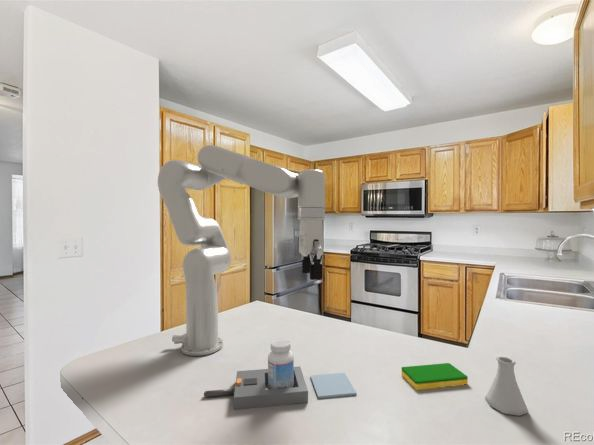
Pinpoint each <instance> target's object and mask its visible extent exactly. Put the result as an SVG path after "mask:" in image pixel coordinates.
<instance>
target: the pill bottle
mask: <svg viewBox="0 0 594 445" xmlns="http://www.w3.org/2000/svg"><path fill="white" fill-rule="evenodd" d="M291 347H292V346H291V341H290V340H288V339H286V338H285V339H284V338H279V339H278V338H277V339H275V340H272V341H271V342H270V350H271V351H270V352H269V354H268V355H267V356H268V357H267V369H268V383H267V390H270V389H282V388H294V387H295V385H294V384H295V381H294V367H295V366H294V364H295V362H294V354H293V352H292V351H291Z"/></svg>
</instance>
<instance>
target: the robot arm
mask: <svg viewBox="0 0 594 445" xmlns="http://www.w3.org/2000/svg"><path fill="white" fill-rule="evenodd" d="M197 162H198V164H195V163H192V162H189V161H185V160H180V159H173V160H168V161H167V162H165V163H164V164H163V165H162V167H161V168H160V170H159V172H158V176H157V186H158V191H159V194H160V196H161V197H160V198H162V200H163V203H164V205H165V206H166V209H167V212H168V216H169V218H170V220H171V224H172V226H173V229H174V231H175V235H176V237H177V239H178V241H179V242H180V244H182V245H183V246H186V247H187V246H188V247H190V246H191V247H193V246H200V247H196V248H193V249H191V250H189V251H188V252H187V253H186V254H185V256H184V257H183V259H182V260H183V261H182V269H183V270H182V272H183V274H184V280H185V302H186V303H185V305H186V308H185V310H186V312H185V313H186V314H185V316H186V318H185V319H186V321H185V322H186V326H185V327H186V328H185V329H186V330H185V331H186V333H183V334H174V335H172V336H171V337H172V338H171V342H172V343H173V342H174V345H176V344H177V345H179V344H181V345H180V352H181V353H182V354H183V355H186V356H191V357H199V356H200V357H202V356H207V355H211V354H213V353H216V352H218V351H219V350H221V349H222V348H223V345H224V340H223V339H222V338H220V337H219V317H218V316H219V307H218V306H219V303H218V302H219V294H218V285H217V282H216V279H215V275H218V274H221V273H224V272H225V271H226V270H228V269H229V268H230V266H231V263H232V256H231V252H230V249H229V246H228V244H227V241H226V238H225V236H224V234H223V231H222V228H221V227H220V224H219V223H218V222H217V221H216V220H215V219H213V218H212V217H209V216H201V215H200V213H199V212H198V211H199V210H198V209H197V207H196V206H197V205H196V203H195V201H194V200H193V198H192V196H191V195H190V194H189V193H188V191H187V189H189V190H194V191H203V190H207V189H209V188H211V187H213V186H214V185H216V184H219V183H221V182H222V181H225V180H230V181H232V182H234V183H238V184H240V185H246V186H248V187H250V188H254V189H256V190H258V191H261V192H264V193H267V194H268V195H273V196H277V197H280V198H285V199H293V198H297V220H298V221H300V222H299V223H300V224H299V235H298V237H299V238H298V239H299V241H298V252H299V254H300V255H301V258H302V260H301V268H302V269H301V270H302V271H301V272H302V273H303V274H309V280H313V281H314V280H315V281H316V280H322V279H323V253H324V230H323V228H324V227H323V221H325V220H326V218H325V217H326V201H325V200H326V197H325V196H326V192H325V191H326V190H325V189H326V188H325V187H326V186H325V185H326V183H325V182H326V175H325V173H324V172H323V170H320V169H311V168H310V169H303V170H300V171H299V173H295V172H291V171H289V170H288V169H285V168H282V167H281V166H276V165H274V164H270V163H268V162H265V161H262V160H259V159H256V158H252V156H249V155H245V154H242V153H240V152H236V151H234V150H231V149H228V148H224V147H221V146H218V145H215V144H214V145H213V144H209V145H204V146H203V147H201V148H200V150H199V151H198V153H197Z"/></svg>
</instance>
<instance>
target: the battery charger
mask: <svg viewBox="0 0 594 445" xmlns="http://www.w3.org/2000/svg"><path fill="white" fill-rule="evenodd" d="M266 384H268V368H262V369H261V368H260V369H248V370H237V371H236V376H235V385H234V388H227V389H225V388H224V389H216V390H215V389H214V390H213V389H212V390H205V391H204V393H203V396H204V397H205V398H209V397H222V396H233V410H240V409H241V410H242V409H250V408H251V409H252V408H260V407H263V408H264V407H273V406H284V405H293V404H304V403H309V390H308V386H307V383H306V380H305V376H304V374H303V371H302V368H301V366H300V365H299V366H294V384H295V385H294V388H282V389H270V390H268V389H267V388H266Z"/></svg>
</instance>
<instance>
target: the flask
mask: <svg viewBox="0 0 594 445" xmlns="http://www.w3.org/2000/svg"><path fill="white" fill-rule="evenodd" d="M496 361H497V369H496V373H495V376H494V379H493V381H492V383H491V385H490V387H489V389H488V391H487V393H486V395H485V397H484V398H485V399H484V400H486V402H487V403H488V405H489V406H491V407H492V408H493V409H496V410H497V411H499V412H500V413H502V414H505V415H510V416H511V415H513V416H519V417H521V416H523V415H526V414H528V413H529V410H528V406H527V405H526V403H525V400H524V398H523V396H522V393H521V390H520V388H519V385H518V383H517V379H516V375H515V368H514V367H515V365H516V361H515V360H514V359H512V358H509V357H508V356H497V357H496Z"/></svg>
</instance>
